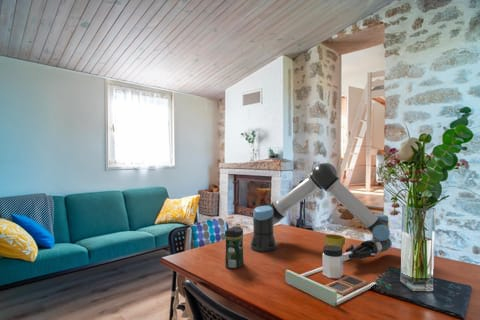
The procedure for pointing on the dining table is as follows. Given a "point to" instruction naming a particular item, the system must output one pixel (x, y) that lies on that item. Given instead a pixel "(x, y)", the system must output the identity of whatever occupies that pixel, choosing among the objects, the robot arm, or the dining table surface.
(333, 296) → the pale green u-shaped frame
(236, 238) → the coffee jar
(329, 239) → the plant pot
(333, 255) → the jar
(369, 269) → the dining table surface
